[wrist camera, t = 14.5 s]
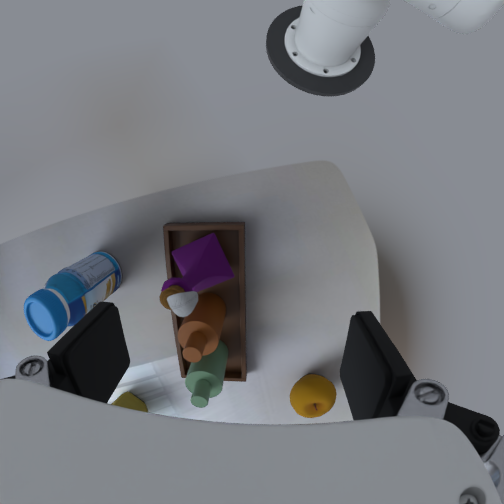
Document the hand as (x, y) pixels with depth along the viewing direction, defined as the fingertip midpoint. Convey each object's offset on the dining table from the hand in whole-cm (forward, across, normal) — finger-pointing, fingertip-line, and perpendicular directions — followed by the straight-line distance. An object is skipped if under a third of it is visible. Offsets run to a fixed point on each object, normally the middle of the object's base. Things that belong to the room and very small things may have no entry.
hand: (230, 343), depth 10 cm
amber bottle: (+34, +8, +17) cm, 39 cm away
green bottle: (+34, +8, +26) cm, 43 cm away
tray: (+35, +8, +17) cm, 39 cm away
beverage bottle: (+35, +28, +11) cm, 46 cm away
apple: (+35, -12, +34) cm, 50 cm away
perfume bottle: (+35, +8, +8) cm, 36 cm away
